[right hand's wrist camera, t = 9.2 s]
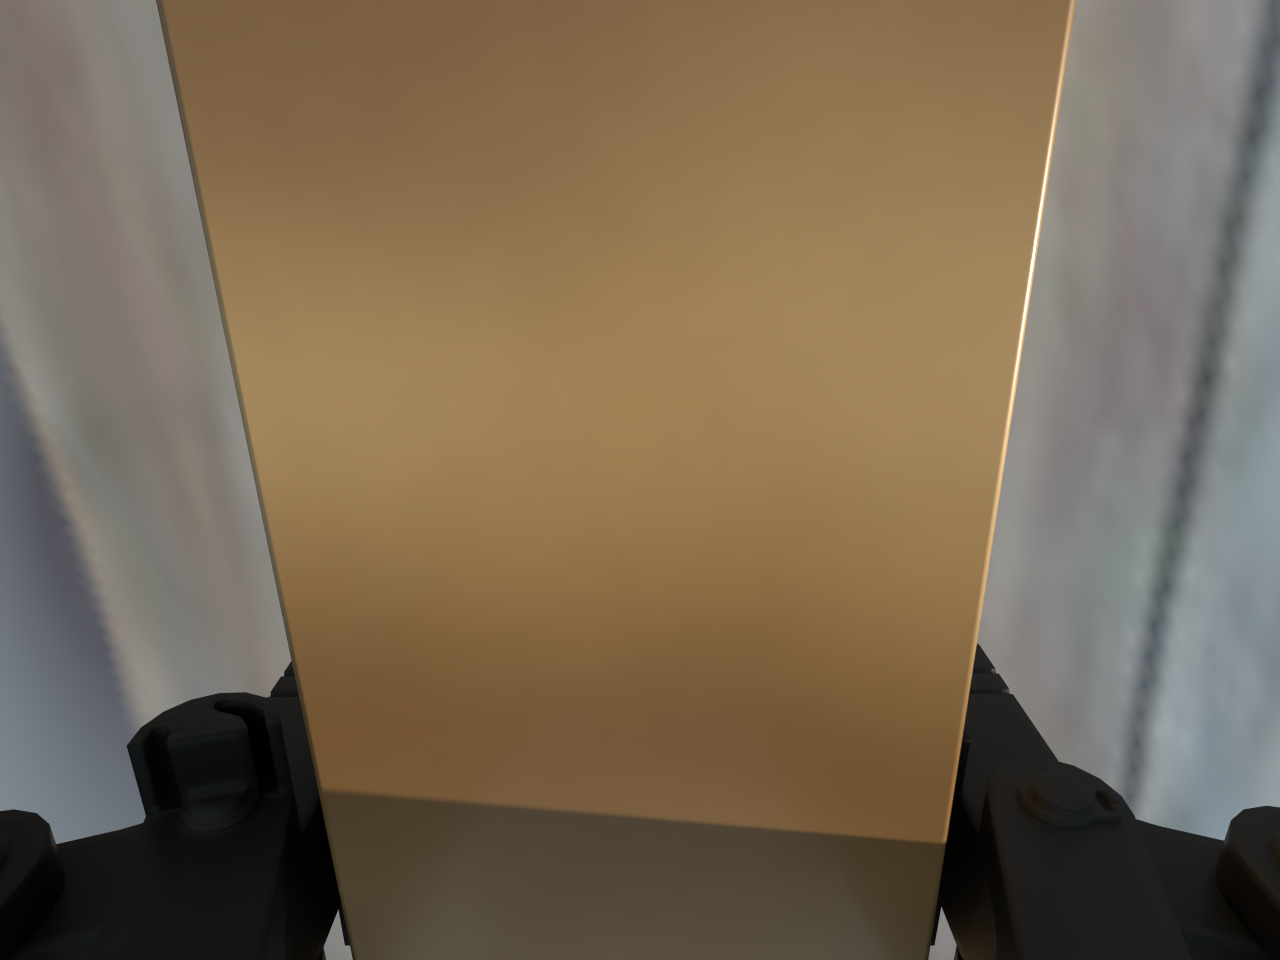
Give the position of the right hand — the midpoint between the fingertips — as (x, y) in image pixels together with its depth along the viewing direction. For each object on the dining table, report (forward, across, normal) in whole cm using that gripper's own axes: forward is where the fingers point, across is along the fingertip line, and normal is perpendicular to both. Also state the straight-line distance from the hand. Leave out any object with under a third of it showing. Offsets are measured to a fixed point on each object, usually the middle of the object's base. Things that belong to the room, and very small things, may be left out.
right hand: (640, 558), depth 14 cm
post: (0, 0, -29) cm, 29 cm away
